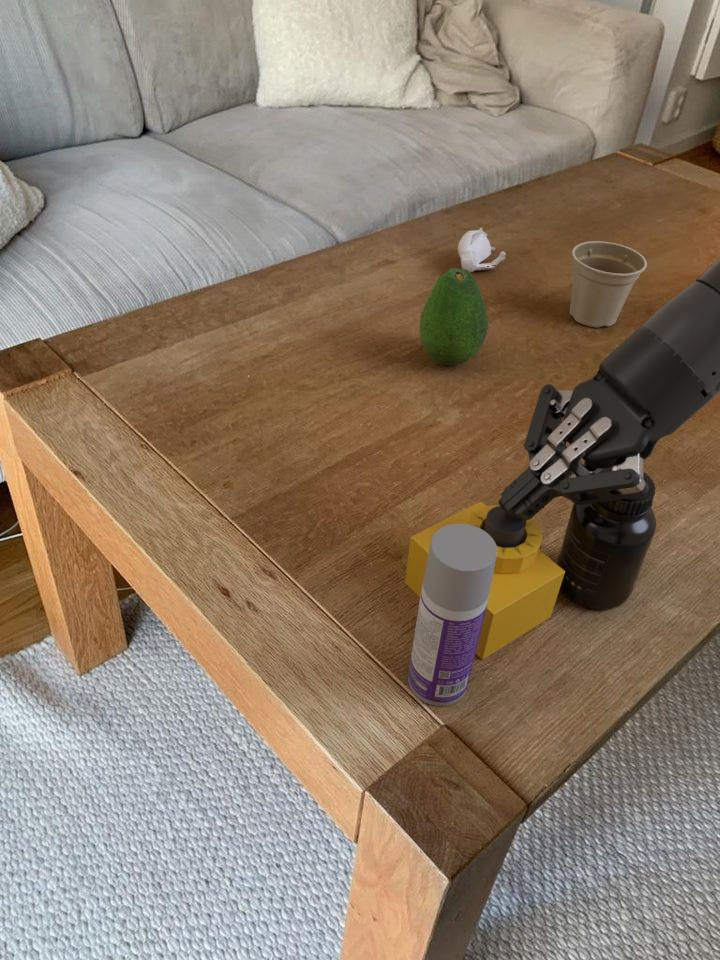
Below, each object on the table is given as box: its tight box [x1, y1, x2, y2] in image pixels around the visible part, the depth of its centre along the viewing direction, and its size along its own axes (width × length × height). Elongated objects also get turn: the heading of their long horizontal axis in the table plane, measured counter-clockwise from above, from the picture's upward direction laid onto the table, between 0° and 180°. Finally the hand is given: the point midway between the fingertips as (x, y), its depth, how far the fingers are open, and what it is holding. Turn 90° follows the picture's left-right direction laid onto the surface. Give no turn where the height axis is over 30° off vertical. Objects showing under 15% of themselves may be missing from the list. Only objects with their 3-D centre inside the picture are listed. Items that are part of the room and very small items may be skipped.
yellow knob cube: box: [404, 501, 565, 661], centre depth 68 cm, size 10×8×8 cm
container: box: [407, 524, 497, 707], centre depth 59 cm, size 5×5×15 cm
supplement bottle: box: [556, 467, 657, 611], centre depth 69 cm, size 7×7×12 cm
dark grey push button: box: [484, 505, 526, 548], centre depth 66 cm, size 3×3×2 cm
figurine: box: [457, 227, 506, 273], centre depth 118 cm, size 6×6×12 cm
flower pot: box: [569, 240, 648, 329], centre depth 107 cm, size 9×9×9 cm
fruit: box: [419, 267, 489, 366], centre depth 95 cm, size 8×8×12 cm
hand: (507, 513), depth 65 cm, fingers closed
